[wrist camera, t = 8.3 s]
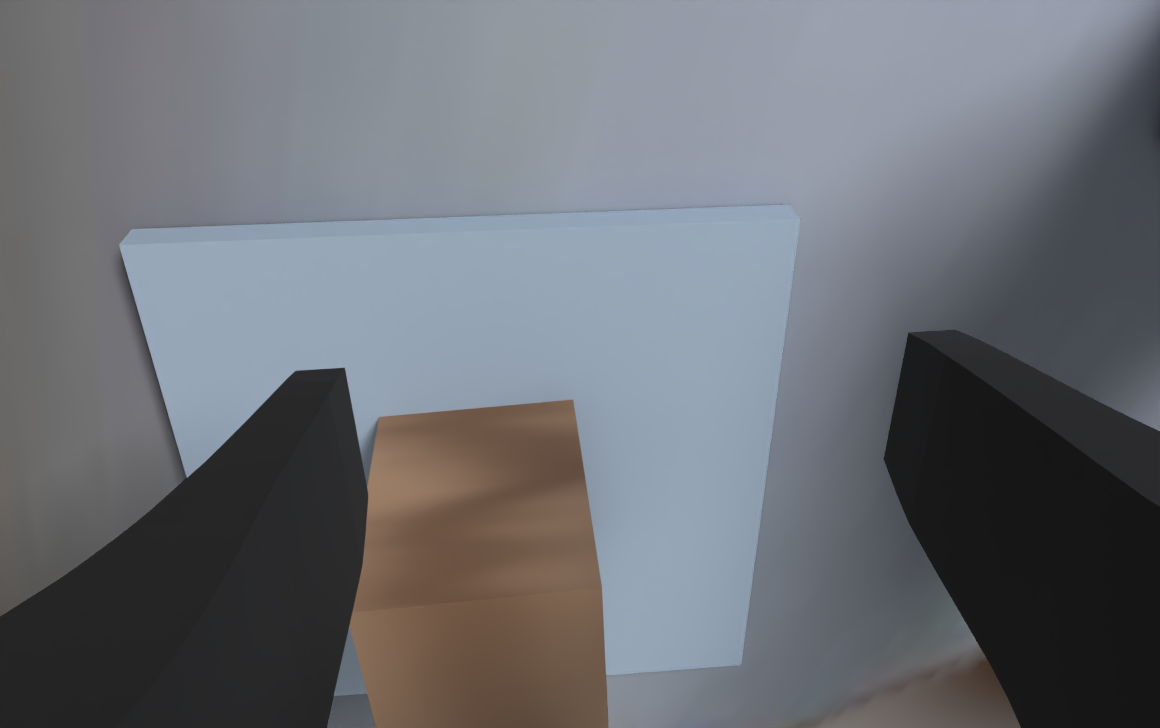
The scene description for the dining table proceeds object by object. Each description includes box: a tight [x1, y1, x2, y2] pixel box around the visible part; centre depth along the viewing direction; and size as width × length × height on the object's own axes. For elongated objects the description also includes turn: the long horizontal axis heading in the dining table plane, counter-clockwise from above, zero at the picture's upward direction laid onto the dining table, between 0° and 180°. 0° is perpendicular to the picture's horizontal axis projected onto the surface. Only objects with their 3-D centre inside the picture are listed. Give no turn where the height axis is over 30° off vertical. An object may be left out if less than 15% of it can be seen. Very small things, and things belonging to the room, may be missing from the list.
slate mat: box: [119, 204, 801, 696], centre depth 23 cm, size 14×14×1 cm
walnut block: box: [350, 400, 608, 728], centre depth 20 cm, size 4×4×6 cm
